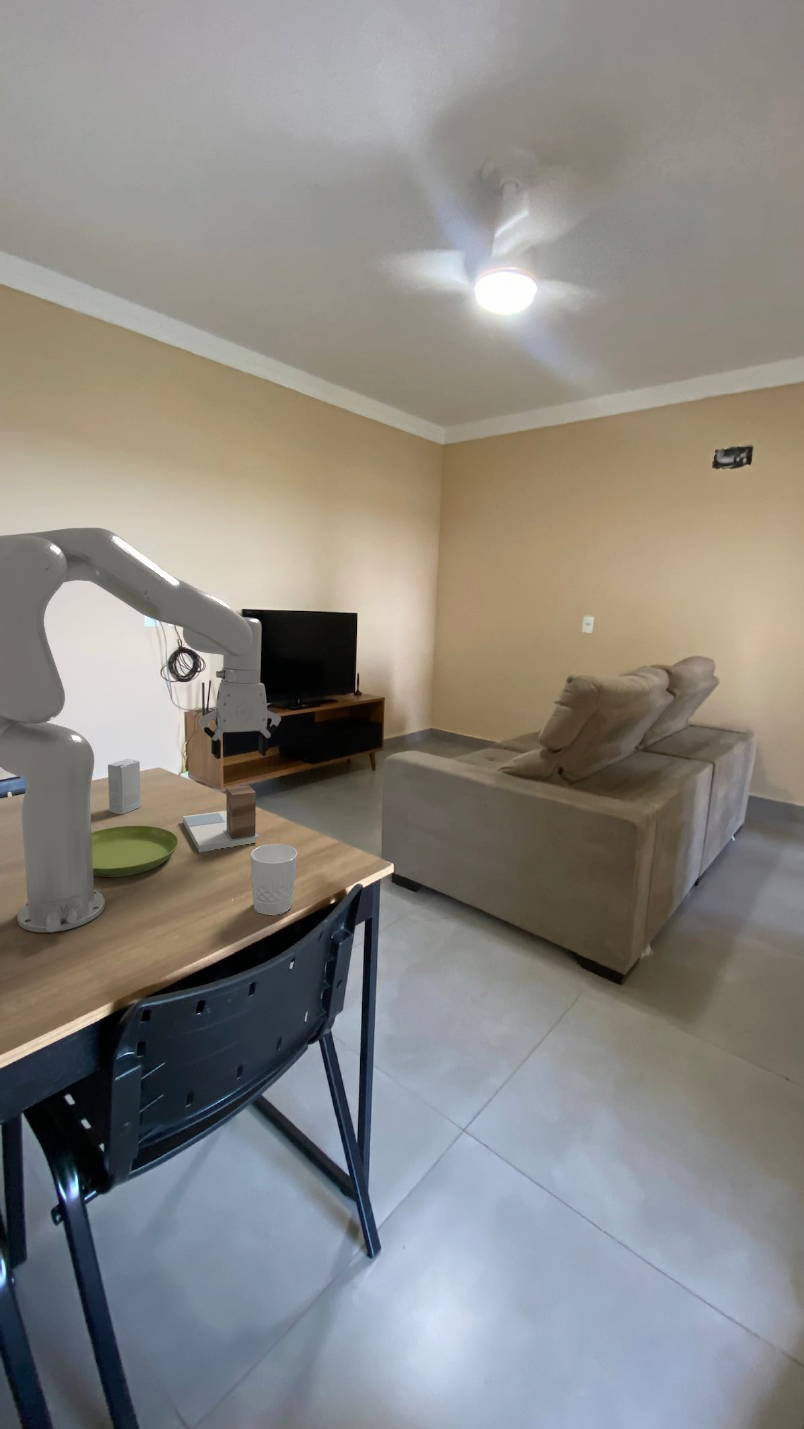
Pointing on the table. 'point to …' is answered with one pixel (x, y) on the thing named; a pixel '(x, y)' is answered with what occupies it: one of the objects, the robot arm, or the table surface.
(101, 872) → the green plate
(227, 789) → the block
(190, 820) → the build board
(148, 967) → the table surface
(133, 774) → the skincare box
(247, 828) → the block
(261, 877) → the white cup
